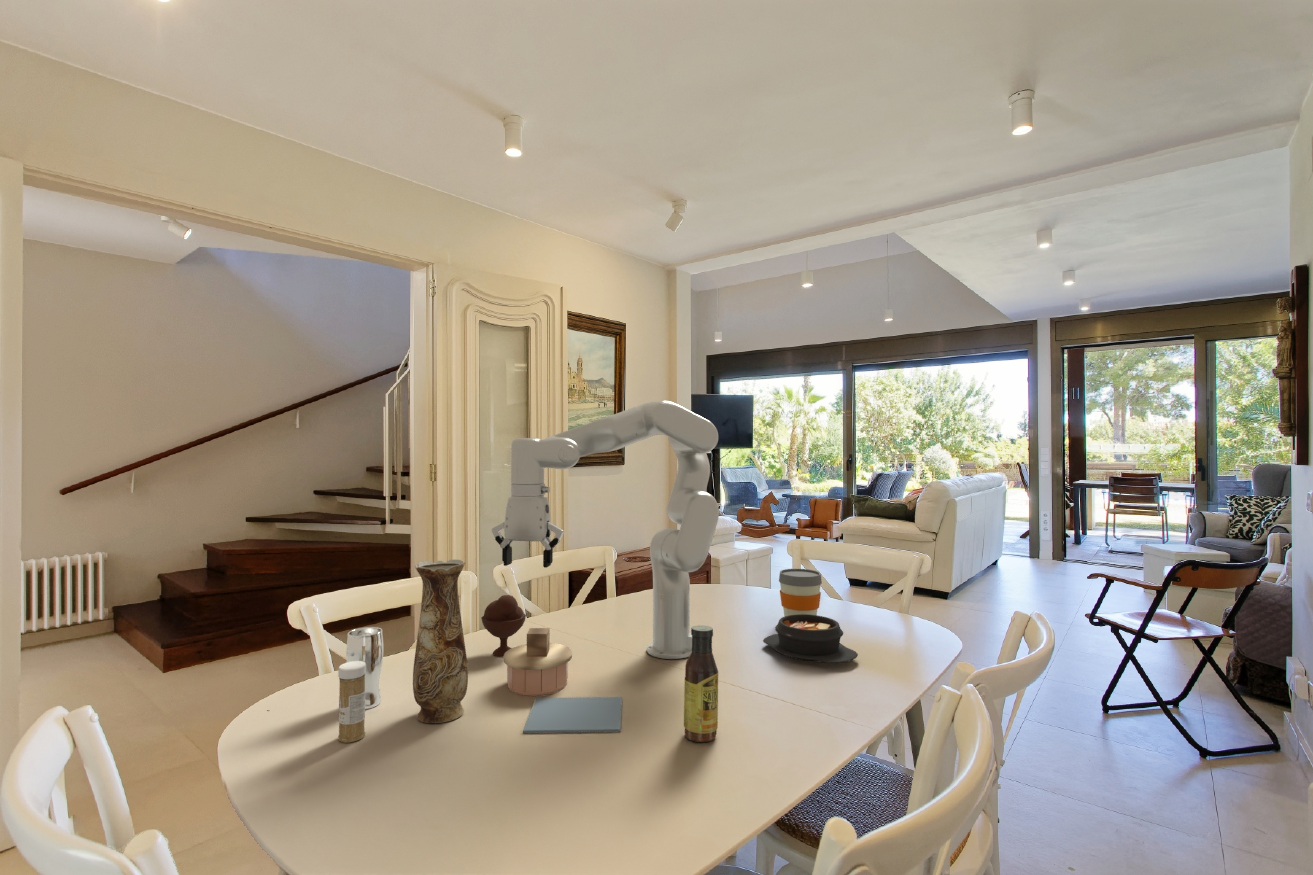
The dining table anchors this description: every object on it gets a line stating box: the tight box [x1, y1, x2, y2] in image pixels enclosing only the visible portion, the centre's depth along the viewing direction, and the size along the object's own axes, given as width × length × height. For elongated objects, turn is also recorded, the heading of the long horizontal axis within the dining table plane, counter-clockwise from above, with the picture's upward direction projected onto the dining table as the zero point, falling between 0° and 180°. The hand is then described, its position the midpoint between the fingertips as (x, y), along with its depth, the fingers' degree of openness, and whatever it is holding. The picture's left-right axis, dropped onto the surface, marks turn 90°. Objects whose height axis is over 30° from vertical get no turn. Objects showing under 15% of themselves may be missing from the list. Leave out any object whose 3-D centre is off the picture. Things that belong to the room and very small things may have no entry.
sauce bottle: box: [683, 624, 719, 743], centre depth 117 cm, size 7×6×20 cm
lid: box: [503, 627, 573, 670], centre depth 142 cm, size 15×15×7 cm
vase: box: [412, 559, 469, 724], centre depth 127 cm, size 10×11×30 cm
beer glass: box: [345, 626, 384, 711], centre depth 131 cm, size 7×7×15 cm
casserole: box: [762, 614, 859, 665], centre depth 162 cm, size 25×19×8 cm
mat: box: [522, 696, 623, 734], centre depth 126 cm, size 18×15×1 cm
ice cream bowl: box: [481, 594, 527, 658], centre depth 163 cm, size 11×11×15 cm
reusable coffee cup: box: [778, 568, 823, 617], centre depth 190 cm, size 13×13×15 cm
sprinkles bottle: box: [337, 661, 366, 744], centre depth 116 cm, size 5×5×14 cm
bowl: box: [506, 662, 569, 697], centre depth 142 cm, size 13×13×6 cm
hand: (527, 565), depth 147 cm, fingers open, 9 cm apart
